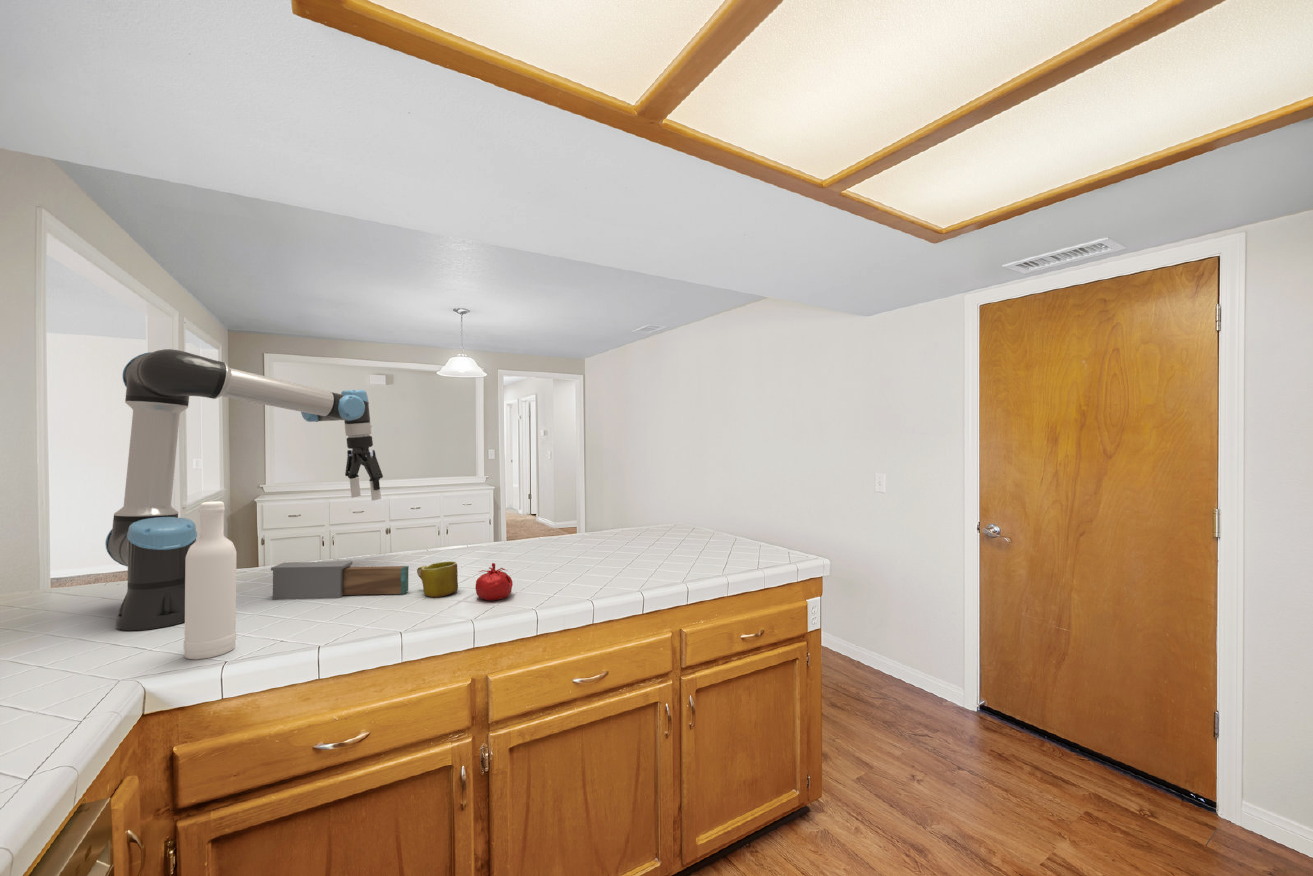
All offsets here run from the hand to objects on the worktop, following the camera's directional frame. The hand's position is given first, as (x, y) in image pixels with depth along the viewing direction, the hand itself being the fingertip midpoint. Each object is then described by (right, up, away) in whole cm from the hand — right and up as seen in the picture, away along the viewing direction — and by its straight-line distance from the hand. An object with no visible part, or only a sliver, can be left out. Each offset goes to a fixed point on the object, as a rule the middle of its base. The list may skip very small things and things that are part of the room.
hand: (366, 498), depth 176 cm
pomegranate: (+54, -23, -35) cm, 69 cm away
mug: (+37, -23, -31) cm, 53 cm away
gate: (+21, -23, -33) cm, 45 cm away
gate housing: (+5, -23, -34) cm, 41 cm away
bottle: (+9, -23, -72) cm, 76 cm away
